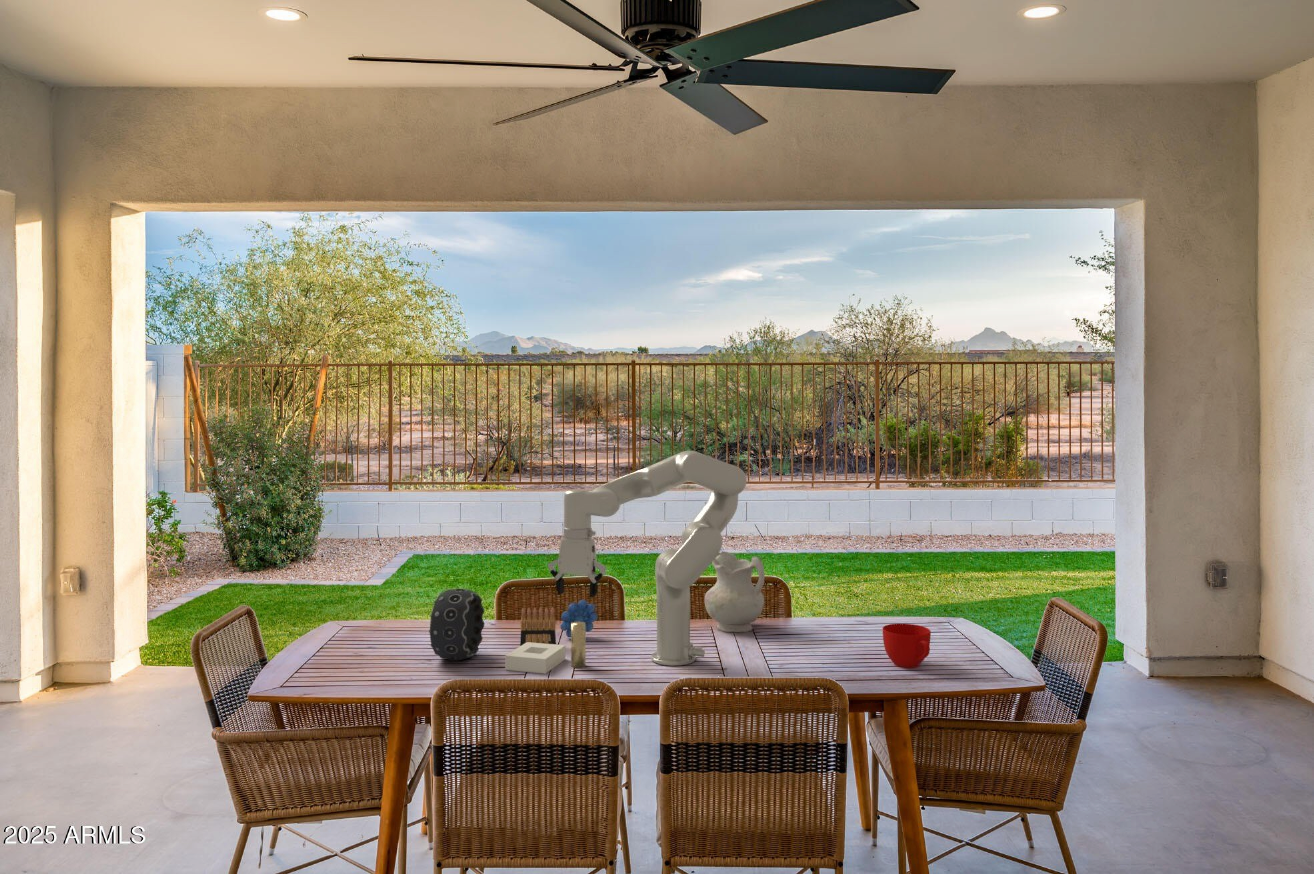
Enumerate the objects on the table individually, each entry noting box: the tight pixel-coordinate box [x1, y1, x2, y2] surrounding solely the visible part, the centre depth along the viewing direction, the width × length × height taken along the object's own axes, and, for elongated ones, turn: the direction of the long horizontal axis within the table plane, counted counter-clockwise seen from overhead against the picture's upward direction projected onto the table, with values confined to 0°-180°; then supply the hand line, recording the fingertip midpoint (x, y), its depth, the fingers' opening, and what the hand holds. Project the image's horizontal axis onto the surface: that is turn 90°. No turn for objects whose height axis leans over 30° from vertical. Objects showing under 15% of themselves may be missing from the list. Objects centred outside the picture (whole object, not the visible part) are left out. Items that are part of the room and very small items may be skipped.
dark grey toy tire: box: [428, 588, 485, 661], centre depth 246 cm, size 11×20×20 cm, turn 174°
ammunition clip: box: [519, 606, 557, 647], centre depth 258 cm, size 11×2×12 cm, turn 92°
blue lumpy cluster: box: [560, 599, 598, 638], centre depth 269 cm, size 12×7×12 cm, turn 101°
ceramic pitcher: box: [704, 551, 765, 633], centre depth 279 cm, size 22×20×25 cm
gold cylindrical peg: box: [570, 622, 587, 669], centre depth 239 cm, size 4×4×12 cm
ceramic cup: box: [882, 623, 932, 669], centre depth 238 cm, size 13×17×10 cm
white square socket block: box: [504, 641, 566, 674], centre depth 240 cm, size 12×14×4 cm
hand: (576, 595), depth 238 cm, fingers open, 9 cm apart
